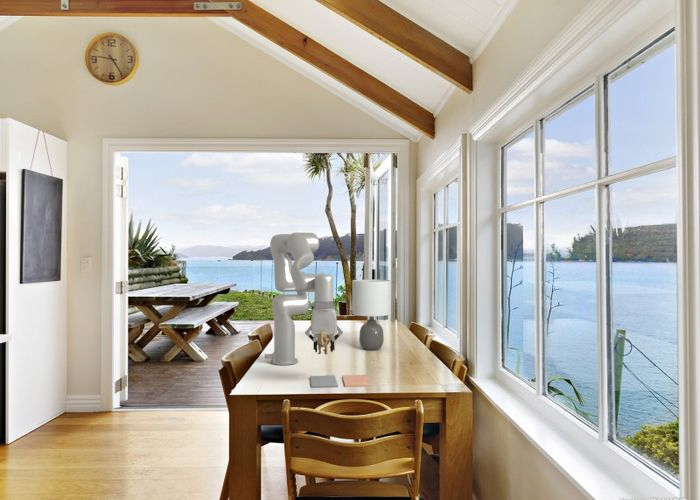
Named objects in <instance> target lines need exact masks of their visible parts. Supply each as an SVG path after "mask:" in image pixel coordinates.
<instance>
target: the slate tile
mask: <svg viewBox="0 0 700 500" xmlns="http://www.w3.org/2000/svg"><path fill="white" fill-rule="evenodd" d="M309 378H310V384H311V388H312V389H325V388H327V389H329V388H338V387H339V385H338V381H337V379H336V376H335V375H310V377H309Z"/></svg>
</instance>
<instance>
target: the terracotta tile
mask: <svg viewBox="0 0 700 500" xmlns="http://www.w3.org/2000/svg"><path fill="white" fill-rule="evenodd" d="M342 381H343V384H344V388H366V387H367V388H370V387H371V388H372V384H371V382H370V381H371V380H370V379H369V377H368V375H367V374H350V375H349V374H347V375H345V374H343V375H342Z"/></svg>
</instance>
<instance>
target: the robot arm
mask: <svg viewBox="0 0 700 500" xmlns="http://www.w3.org/2000/svg"><path fill="white" fill-rule="evenodd" d="M319 247H320V239H319V237H318V236H317V234H316V233H313V232H292V233H280V234H275V235H273V236H272V237H271V239H270V244H269V248H270V249H269V250H270V253H271V257H272V260H273V273H274V275H273V276H274V287H275V290H276V291H278V292H282V293H286V292H287V293H289V292H291V293H292V292H296V294H295V293H293V294H291V293H289V294H279V295H277V296H275V297H274V298H273V299H272V305H271V306H272V313H273V323H274V326H273V327H274V331H273V332H274V333H273V334H274V335H273V337H274V338H273V341H274V342H273V345H274V346H273V348H274V349H273V350H274V351H273V353H265V354H264V359H271V360H270V363H271V364H272V365H276V366H290V365H294V364H298V363H299V359H298V358H296V356H295V355H296V354H295V353H296V351H295V347H296V346H295V345H296V344H295V343H296V337H295V336H296V328H295V327H296V325H295V322H294V320H293V319H292V317H291V316H293V315H304V314H307V313H308V312H309V309H310V307H313V309H312V310H311V320H310V321H311V323H310V326H309V327H308V328H307V329H306V330H305V332H304V335H306V336H307V337H308V338H309V339H310V340H312V342H313V350H315V353H318V345H317V337H318V335H319V333H321V332H325V333H326V335H330V336H331V343H330V346H331V348H330V352H331V353H333V351H334V350H333V349H334V345H335V342H336V341H337V339H339V338H340V336H342V335H343V334H344V331H343V330H342V329H341V328H340V327H339V326H338V323H337V322H338V321H337V320H338V319H337V311H336V309H335V308H334V277H333V275H331V274H326V273H306V272H304V271H302V270H303V269H305V268H307V267H309V266H310V265H312V263H313V262H314V259H315V256H314V255H315V254H314V252H316V251H318V249H319ZM287 253H290V254H291V256H292V259H293V260H292V259H291V257H290V256H289V255H288V254H287ZM310 293H314V301H313V302H311V303H310ZM310 332H311V333H310Z"/></svg>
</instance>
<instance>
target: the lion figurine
mask: <svg viewBox="0 0 700 500" xmlns="http://www.w3.org/2000/svg"><path fill="white" fill-rule="evenodd" d="M316 340H317V350H318V352H317V354H318V355H321V353H322V351H323V352H324V355H328V345H329V344H331V336H330V335H326V333H325V332H321V333H319V335H318V336H317V339H316ZM322 348H323V349H322ZM329 349H331V345H330V347H329ZM333 351H336V348H335V344H334V349H333Z"/></svg>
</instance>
